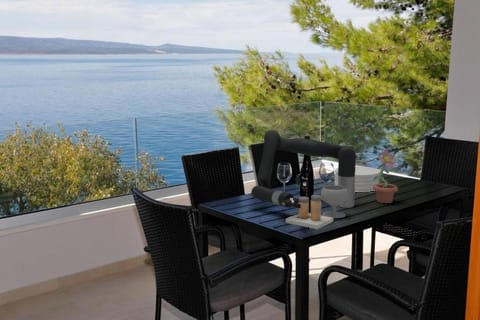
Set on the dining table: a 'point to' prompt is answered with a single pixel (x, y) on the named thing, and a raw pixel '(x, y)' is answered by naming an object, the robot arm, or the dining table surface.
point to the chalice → (334, 199)
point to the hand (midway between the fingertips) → (306, 204)
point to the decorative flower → (384, 189)
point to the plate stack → (363, 178)
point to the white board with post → (312, 216)
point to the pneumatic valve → (299, 179)
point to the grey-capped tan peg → (303, 208)
